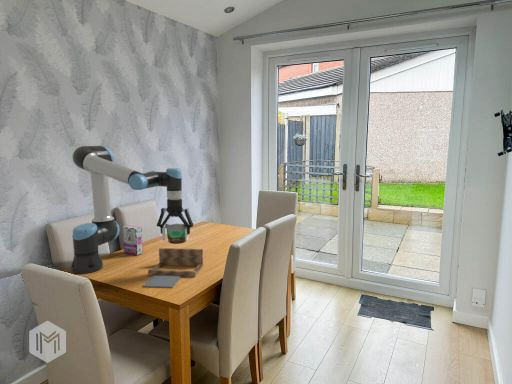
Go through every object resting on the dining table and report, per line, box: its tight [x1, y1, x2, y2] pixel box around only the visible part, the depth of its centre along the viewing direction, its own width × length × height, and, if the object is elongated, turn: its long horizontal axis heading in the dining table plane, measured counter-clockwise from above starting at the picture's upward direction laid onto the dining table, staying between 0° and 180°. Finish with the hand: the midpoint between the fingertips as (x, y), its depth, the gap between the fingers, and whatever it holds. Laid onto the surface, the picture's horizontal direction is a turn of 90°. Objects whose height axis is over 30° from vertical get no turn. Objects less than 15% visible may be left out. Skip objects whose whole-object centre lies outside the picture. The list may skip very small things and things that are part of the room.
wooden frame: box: [147, 247, 204, 278], centre depth 187 cm, size 24×18×9 cm
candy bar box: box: [122, 225, 144, 256], centre depth 215 cm, size 11×5×16 cm, turn 62°
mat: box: [142, 275, 182, 289], centre depth 172 cm, size 14×14×1 cm
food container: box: [164, 223, 187, 245], centre depth 185 cm, size 12×6×10 cm, turn 107°
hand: (175, 240), depth 185 cm, fingers closed on food container, 11 cm apart
